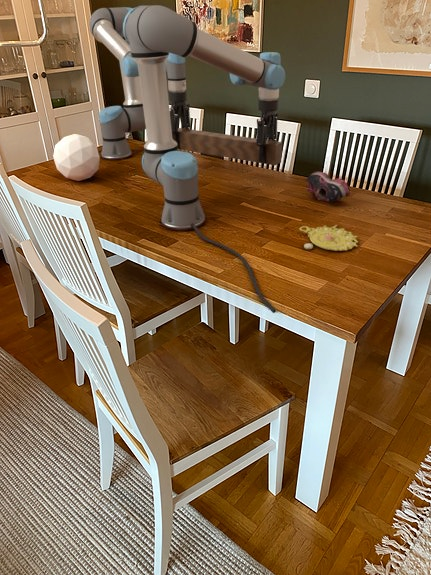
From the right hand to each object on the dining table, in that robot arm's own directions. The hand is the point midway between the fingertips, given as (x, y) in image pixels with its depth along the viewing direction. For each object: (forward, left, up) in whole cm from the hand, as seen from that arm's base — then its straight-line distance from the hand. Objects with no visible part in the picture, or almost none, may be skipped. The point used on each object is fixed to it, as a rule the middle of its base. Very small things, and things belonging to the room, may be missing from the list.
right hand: (265, 160), depth 178 cm
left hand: (+29, +32, 0) cm, 43 cm away
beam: (+15, +16, -1) cm, 22 cm away
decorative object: (-52, -8, -11) cm, 54 cm away
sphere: (+28, +78, -11) cm, 84 cm away
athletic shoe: (-18, -18, -11) cm, 28 cm away
